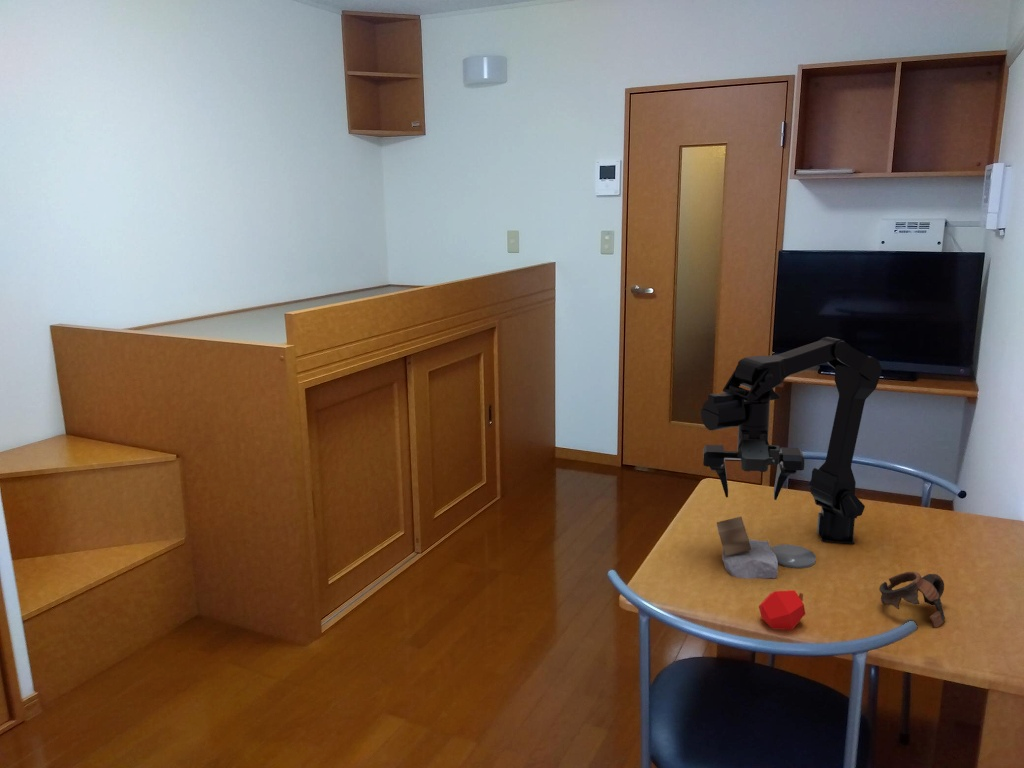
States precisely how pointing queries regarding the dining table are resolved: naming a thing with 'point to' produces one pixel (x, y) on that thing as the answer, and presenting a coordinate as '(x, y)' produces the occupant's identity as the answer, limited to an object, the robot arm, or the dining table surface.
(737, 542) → the walnut cube
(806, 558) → the slate coaster
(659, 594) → the dining table surface
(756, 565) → the stone block
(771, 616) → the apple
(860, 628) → the dining table surface
